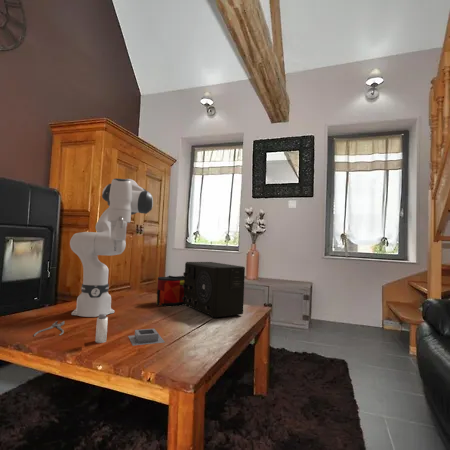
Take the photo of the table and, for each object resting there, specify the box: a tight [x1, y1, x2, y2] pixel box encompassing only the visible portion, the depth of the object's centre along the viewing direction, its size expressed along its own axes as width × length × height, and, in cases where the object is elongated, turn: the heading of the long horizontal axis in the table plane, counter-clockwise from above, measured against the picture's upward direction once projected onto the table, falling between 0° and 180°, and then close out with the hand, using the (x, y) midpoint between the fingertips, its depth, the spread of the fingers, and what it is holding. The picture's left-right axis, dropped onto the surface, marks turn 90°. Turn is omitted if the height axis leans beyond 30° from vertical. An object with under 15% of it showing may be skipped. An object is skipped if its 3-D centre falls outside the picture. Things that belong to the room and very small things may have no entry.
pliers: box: [33, 320, 65, 337], centre depth 119 cm, size 10×1×20 cm
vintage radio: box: [182, 261, 246, 319], centre depth 165 cm, size 38×20×25 cm, turn 33°
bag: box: [155, 275, 186, 307], centre depth 181 cm, size 30×14×16 cm, turn 133°
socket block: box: [128, 328, 166, 346], centre depth 109 cm, size 11×11×4 cm
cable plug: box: [95, 314, 109, 344], centre depth 105 cm, size 4×4×9 cm
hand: (117, 251), depth 123 cm, fingers open, 8 cm apart
